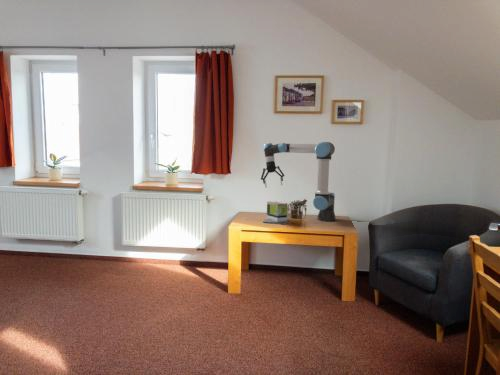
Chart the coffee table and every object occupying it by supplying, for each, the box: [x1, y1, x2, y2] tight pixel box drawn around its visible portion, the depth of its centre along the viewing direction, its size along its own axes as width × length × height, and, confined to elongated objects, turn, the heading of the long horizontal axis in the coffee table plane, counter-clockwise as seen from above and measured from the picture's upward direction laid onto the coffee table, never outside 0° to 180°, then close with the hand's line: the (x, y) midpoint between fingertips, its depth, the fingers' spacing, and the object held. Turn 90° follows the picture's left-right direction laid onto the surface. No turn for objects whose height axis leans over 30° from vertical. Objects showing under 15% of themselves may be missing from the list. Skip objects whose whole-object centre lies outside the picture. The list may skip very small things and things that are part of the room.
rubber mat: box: [263, 218, 290, 225], centre depth 323 cm, size 18×18×1 cm
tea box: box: [266, 200, 288, 222], centre depth 322 cm, size 15×10×15 cm
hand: (273, 186), depth 338 cm, fingers open, 13 cm apart
